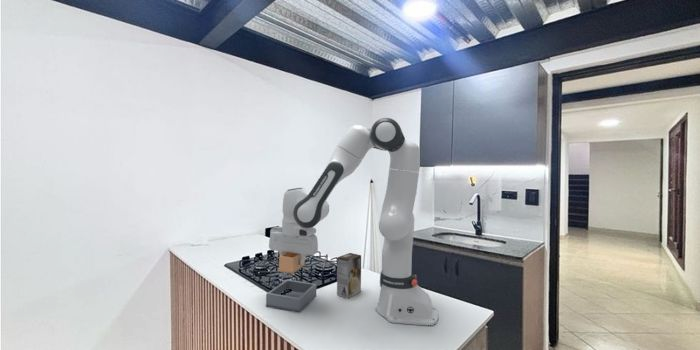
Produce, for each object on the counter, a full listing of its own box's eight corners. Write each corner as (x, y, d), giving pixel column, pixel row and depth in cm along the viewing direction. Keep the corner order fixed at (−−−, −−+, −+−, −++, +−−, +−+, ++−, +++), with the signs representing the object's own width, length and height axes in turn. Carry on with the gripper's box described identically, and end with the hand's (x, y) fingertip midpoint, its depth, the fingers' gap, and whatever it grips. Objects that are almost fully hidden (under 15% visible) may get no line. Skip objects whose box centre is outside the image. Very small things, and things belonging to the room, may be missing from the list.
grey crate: (316, 296, 118) (316, 284, 118) (299, 313, 103) (299, 299, 103) (286, 291, 122) (286, 279, 122) (266, 306, 107) (266, 293, 107)
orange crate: (304, 265, 116) (305, 251, 116) (292, 273, 107) (293, 258, 107) (291, 263, 118) (292, 249, 118) (278, 271, 109) (279, 256, 108)
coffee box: (349, 288, 126) (350, 252, 126) (361, 292, 122) (362, 255, 122) (336, 295, 119) (336, 257, 119) (348, 299, 115) (349, 260, 115)
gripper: (266, 227, 112) (265, 262, 112) (313, 232, 106) (312, 269, 106) (274, 224, 118) (274, 257, 118) (320, 229, 112) (319, 264, 112)
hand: (292, 263), depth 112 cm, fingers closed on orange crate, 6 cm apart
